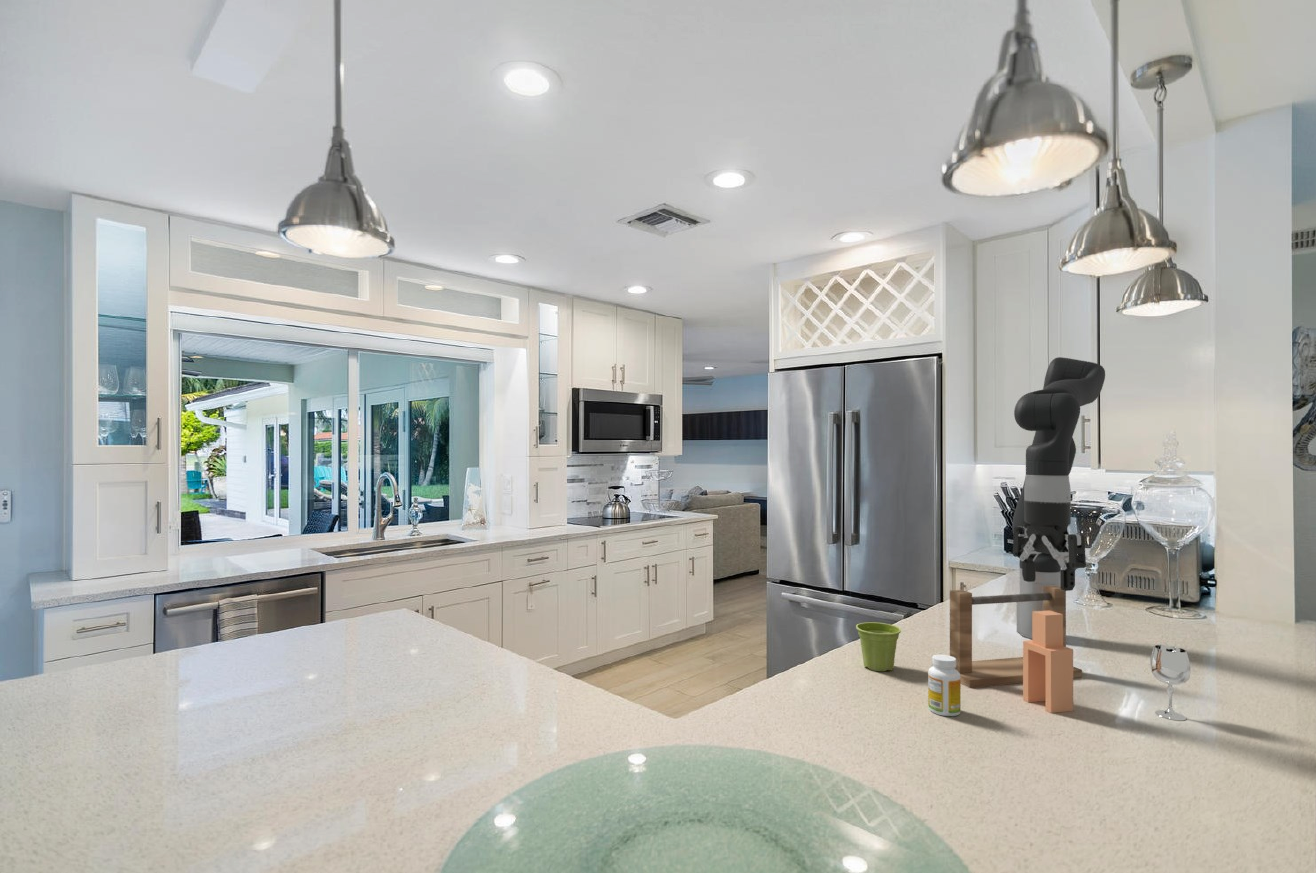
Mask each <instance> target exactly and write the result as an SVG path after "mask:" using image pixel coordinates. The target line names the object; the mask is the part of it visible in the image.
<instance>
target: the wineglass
mask: <svg viewBox="0 0 1316 873" xmlns="http://www.w3.org/2000/svg"><path fill="white" fill-rule="evenodd" d="M1149 666H1150V671H1151V673H1152V676H1154V677H1155V678H1156V679H1157V680H1159V681H1160V682H1162V683H1164V684H1166V685H1167V687H1166V692H1167V697H1168V706H1167V708H1166V709H1157V710H1154V714H1155V715H1156V716H1159V717H1161V718H1164V719H1167V720H1172V721H1185V720H1187V717H1186V716H1185V715H1183V714H1182V713H1179V712H1176V711H1175V710H1174V709H1173V694H1174V693H1175V692H1174V691H1175V690H1174V687H1173V686H1179V685H1183V684H1186V683H1188V681H1189V679H1190V678H1191V674H1192V673H1191V672H1192V671H1191V670H1192V669H1191V663H1190V658H1189V654H1188V652H1187V650H1186V649H1184V648H1183V647H1182V648H1181V647H1178V646H1173V645H1169V644H1168V645H1167V644H1166V645H1165V644H1155V645H1154V646H1153V648H1152V652H1151V655H1150V661H1149Z"/></svg>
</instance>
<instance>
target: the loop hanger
mask: <svg viewBox="0 0 1316 873" xmlns="http://www.w3.org/2000/svg"><path fill="white" fill-rule="evenodd" d="M1022 657H1023V683H1022V700H1023V701H1024V702H1027V703H1034V702H1043V701H1044V702H1045V712H1048V713H1050V714H1053V713H1054V714H1055V713H1064V712H1074V678H1073V667H1074V649H1073V648H1071V647H1068V646H1066V647H1065V646H1063V614H1060V613H1057V612H1053V611H1050V610H1049V611H1033V612H1032V639H1029V640H1023V641H1022Z"/></svg>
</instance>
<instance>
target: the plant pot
mask: <svg viewBox="0 0 1316 873" xmlns="http://www.w3.org/2000/svg"><path fill="white" fill-rule="evenodd" d="M855 629H856V630H857V633H858V634H857V635H858V636H859V639H860V646H861V654H862V655H861V656H862V661H863V666H864V668H868V669H869V670H871V671H874V672H881V673H882V672H887V671H893V670H894V666H895V660H896V658H895V656H896V651H897V642H898V640H899V636H900V634H901V632H902V629H901V628H900V627H899V626H896V625H893V624H889V623H884V622H871V621H870V622H861V623H858V624H856V625H855Z"/></svg>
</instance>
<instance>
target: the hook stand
mask: <svg viewBox="0 0 1316 873" xmlns="http://www.w3.org/2000/svg"><path fill="white" fill-rule="evenodd" d="M1066 595H1067V591H1065V590H1061V587H1059V586H1055V585H1050V586H1043V593H1034V594H1020V593H1019V594H1018V593H1017V594H1016V593H1015V594H1001V595H1000V594H999V595H997V594H996V595H983V596H982V595H981V596H980V595H979V596H973V593H972V592H970V591H966V590H963V589H953V590H949V656H952V657H954V658H956V668H955V669H956V670H957V671H958V672H959V673H960V678H961V684H962V685H963V686H965V687H968V688H969V689H970V688H972V689H973V688H980V687H991V686H1000V685H1001V686H1002V685H1010V684H1011V685H1012V684H1023V656H1020V657H1019V656H1017V657H1008V658H1007V657H1005V658H994V659H984V660H983V659H982V660H973V605H975V606H976V605H989V604H990V605H991V604H992V605H993V604H1007V603H1010V604H1011V603H1017V602H1028V601H1043V611H1049V610H1050V611H1053V612H1057V613H1060V614H1063V646H1065V647H1067V625H1066V624H1067V603H1066V602H1067V596H1066ZM1075 678H1083V670H1082V669H1081V668H1079V667H1076V666H1073V679H1075Z"/></svg>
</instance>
